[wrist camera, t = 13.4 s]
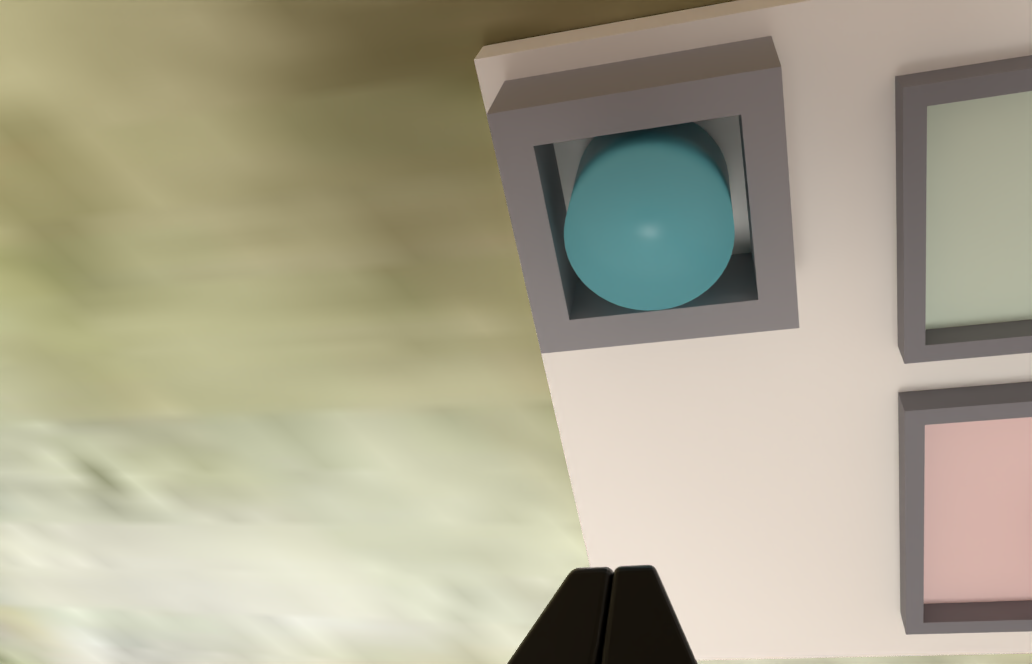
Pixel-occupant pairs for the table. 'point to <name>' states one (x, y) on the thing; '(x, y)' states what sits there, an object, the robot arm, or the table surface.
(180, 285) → the table surface
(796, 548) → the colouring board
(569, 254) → the button
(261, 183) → the table surface
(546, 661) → the robot arm
